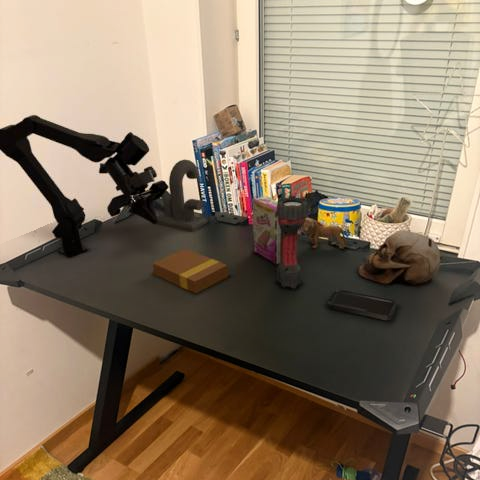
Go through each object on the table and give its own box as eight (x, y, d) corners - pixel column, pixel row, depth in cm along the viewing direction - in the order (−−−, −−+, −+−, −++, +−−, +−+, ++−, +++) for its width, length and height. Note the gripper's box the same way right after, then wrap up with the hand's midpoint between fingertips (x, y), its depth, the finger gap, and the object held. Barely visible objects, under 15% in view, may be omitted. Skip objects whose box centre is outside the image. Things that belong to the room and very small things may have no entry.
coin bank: (353, 268, 133) (364, 222, 126) (408, 265, 138) (421, 220, 130) (381, 297, 121) (395, 248, 113) (441, 293, 125) (457, 245, 118)
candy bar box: (252, 252, 145) (251, 198, 136) (265, 247, 147) (265, 194, 138) (275, 265, 137) (275, 209, 128) (289, 260, 139) (290, 205, 130)
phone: (336, 289, 122) (397, 301, 116) (336, 292, 123) (397, 305, 117) (326, 303, 116) (390, 317, 110) (326, 307, 117) (389, 321, 111)
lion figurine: (300, 250, 145) (301, 221, 140) (299, 242, 149) (300, 214, 144) (350, 249, 144) (353, 220, 139) (347, 242, 148) (350, 214, 143)
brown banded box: (152, 263, 133) (194, 281, 123) (185, 248, 140) (227, 264, 130) (154, 274, 135) (195, 293, 125) (186, 259, 142) (228, 276, 132)
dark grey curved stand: (221, 216, 171) (217, 158, 160) (194, 231, 160) (188, 170, 149) (180, 207, 179) (174, 152, 168) (152, 222, 168) (144, 163, 157)
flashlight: (298, 294, 123) (301, 207, 110) (270, 288, 126) (270, 202, 114) (309, 281, 128) (314, 196, 116) (283, 275, 132) (284, 192, 119)
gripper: (106, 167, 121) (142, 218, 122) (160, 150, 134) (192, 197, 134) (92, 192, 130) (126, 240, 130) (144, 175, 142) (175, 218, 142)
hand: (156, 223), depth 134 cm, fingers closed
